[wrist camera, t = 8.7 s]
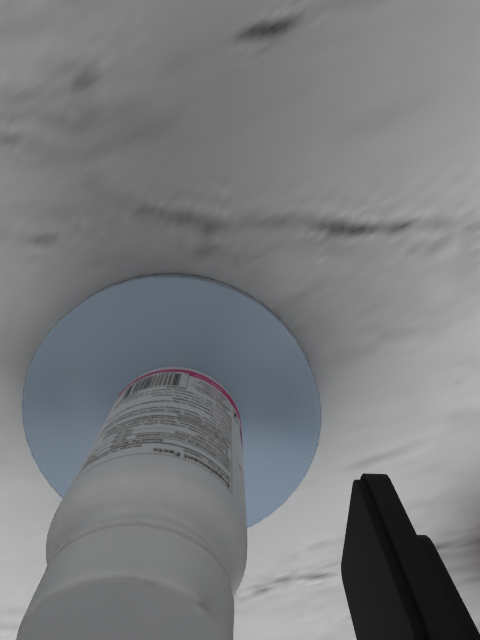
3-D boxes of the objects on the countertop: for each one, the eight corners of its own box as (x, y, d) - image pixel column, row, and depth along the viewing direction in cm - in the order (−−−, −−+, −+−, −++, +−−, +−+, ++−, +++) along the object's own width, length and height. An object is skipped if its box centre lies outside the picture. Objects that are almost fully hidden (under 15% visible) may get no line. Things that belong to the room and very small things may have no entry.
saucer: (18, 269, 15) (3, 274, 14) (328, 278, 15) (334, 284, 14) (49, 523, 18) (39, 542, 17) (304, 527, 19) (308, 545, 18)
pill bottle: (211, 493, 17) (191, 774, 9) (95, 450, 16) (-42, 711, 8) (264, 393, 16) (298, 613, 7) (141, 342, 15) (32, 522, 7)
